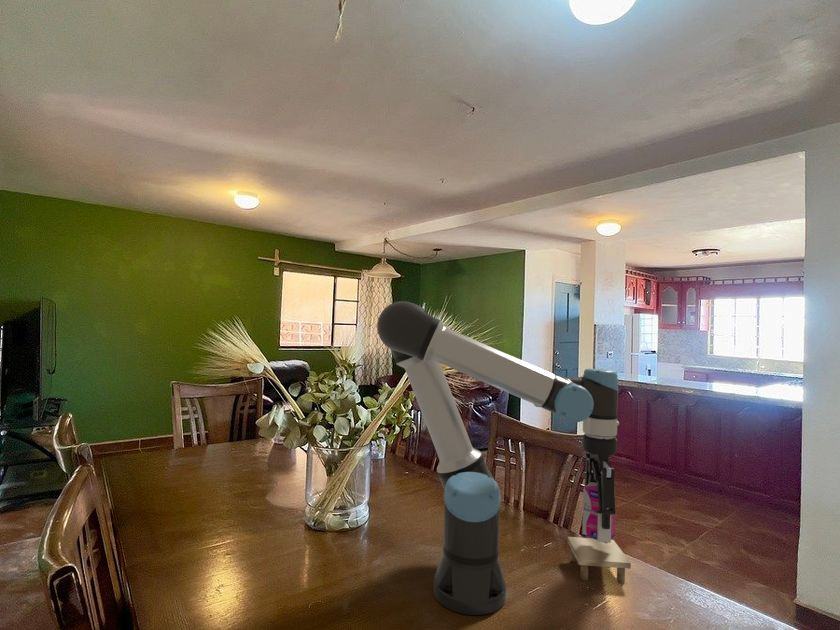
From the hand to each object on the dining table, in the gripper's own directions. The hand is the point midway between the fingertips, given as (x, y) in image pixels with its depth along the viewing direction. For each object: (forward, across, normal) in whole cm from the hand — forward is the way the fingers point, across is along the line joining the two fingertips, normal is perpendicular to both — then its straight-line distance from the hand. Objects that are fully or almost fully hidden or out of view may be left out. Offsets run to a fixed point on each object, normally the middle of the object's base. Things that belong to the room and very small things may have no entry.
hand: (598, 533), depth 106 cm
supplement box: (+1, 0, 0) cm, 1 cm away
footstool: (+9, 0, 0) cm, 9 cm away
